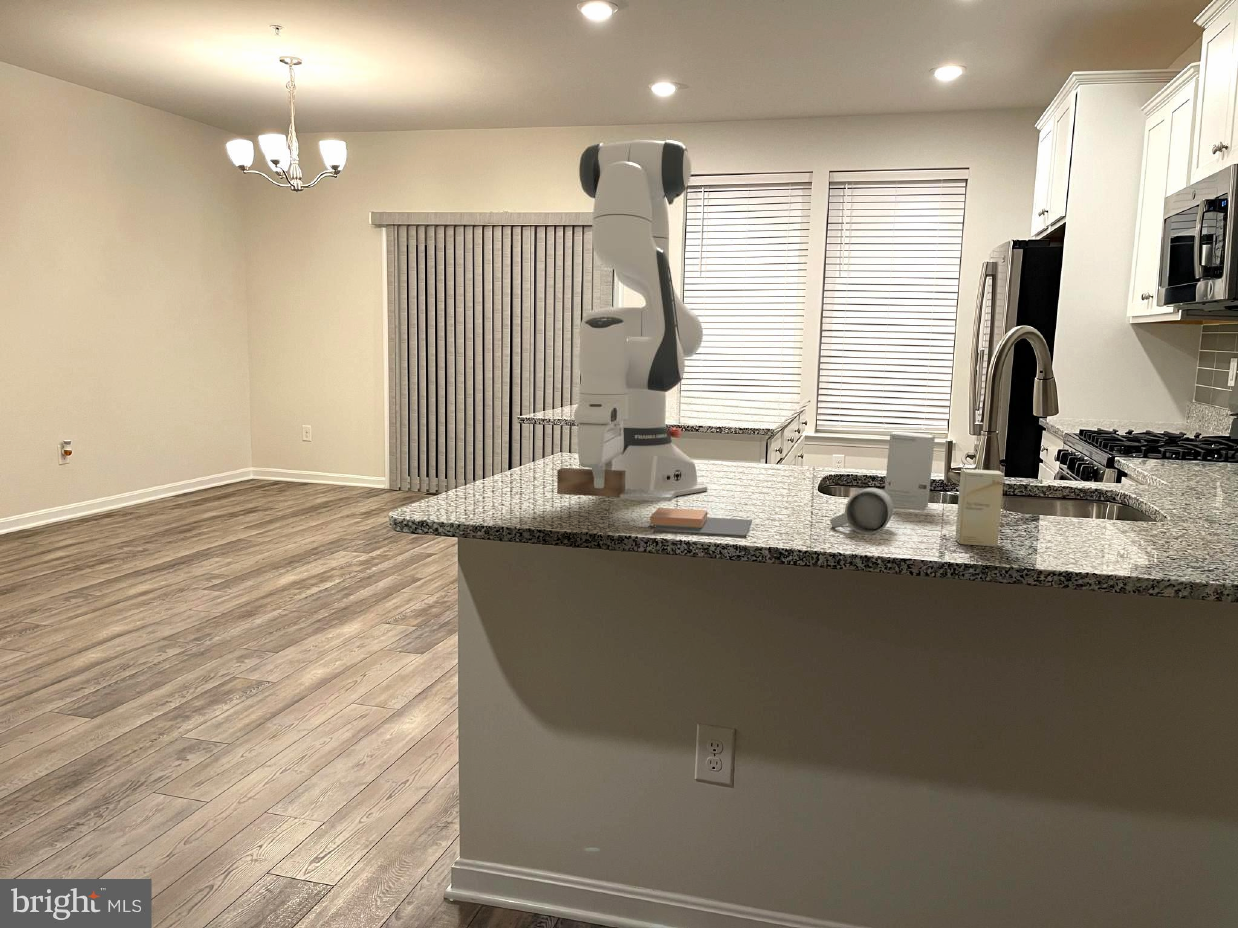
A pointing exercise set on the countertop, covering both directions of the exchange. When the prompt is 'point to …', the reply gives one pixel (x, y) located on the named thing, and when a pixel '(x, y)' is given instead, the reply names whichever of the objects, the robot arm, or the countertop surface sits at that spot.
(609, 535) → the countertop surface
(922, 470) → the skincare box
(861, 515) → the ceramic mug
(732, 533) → the mat
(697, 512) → the tile
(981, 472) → the skincare box
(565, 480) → the turner
